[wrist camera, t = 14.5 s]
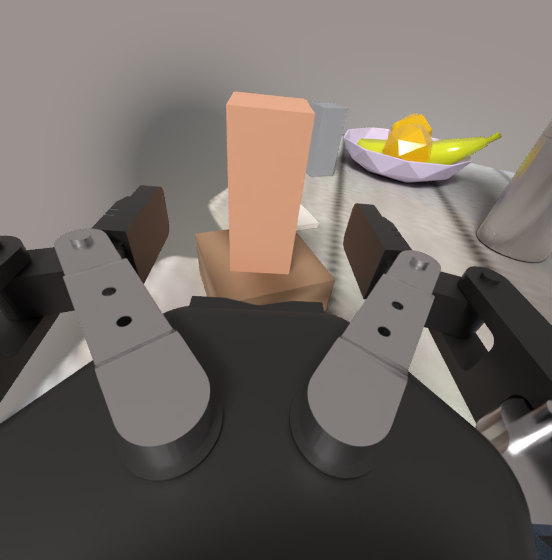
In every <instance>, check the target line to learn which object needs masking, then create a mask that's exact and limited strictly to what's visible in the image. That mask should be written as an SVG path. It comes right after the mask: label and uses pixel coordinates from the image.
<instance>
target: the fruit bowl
mask: <svg viewBox="0 0 552 560" xmlns="http://www.w3.org/2000/svg"><path fill="white" fill-rule="evenodd" d="M431 133H432V129H431V127H430V126H429V124H428V122H427V121H426V119H425V117H424V115H421V114H416V113H412V114H410V115H409V116H407V117H405V118H403V119H402V120H400V121H398V122H396V123H394V125H393V126H392V128H391V129H390V130H389V129H381V128H371V127H370V128H359V129H348V131H347V132H346V134H345V136H344V140H345V144H346V147H347V150H348V152H349V154H350V156H351V157H352V159H353V160H355V161H356V162H357V163H359V164H360V165H361V166H362V167H364V168H365V169H366V170H367V171H369V172H372V173H375V174H379V175H382V176H385V177H388V178H391V179H395V180H398V181H401V182H404V183H411V182H423V181H435V180H447V179H448V178H450V177H451V176H452V175H454V174H455V173H457V172H458V171H460V170H461V169H462V168H464V167H465V166H467V165H468V164H469V163H471V162H472V161H473V160H472V159H471V157H470V155H472V154H474V153H475V152H477V151H479V150H481V149H483V148H484V147H486V146H487V144H488V143H490V142H493V141H494V140H497V139H499V138H501V134H500V132H498V133H496V134H494V135H492V136H490V137H487V138H485V137H476V138H475V137H474V138H460V139H448V140H439V139H436V138H432V137H431Z"/></svg>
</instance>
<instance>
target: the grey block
mask: <svg viewBox="0 0 552 560" xmlns="http://www.w3.org/2000/svg"><path fill="white" fill-rule="evenodd" d="M310 107H311V108H312V110H313V111H314V113H315V118H314V124H313V130H312V136H311V142H310V149H309V155H308V161H307V167H306V173H307V174H308V175H310V176H311V177H321V176H333V172H334V167H335V163H336V159H337V154H338V150H339V146H340V141H341V137H342V133H343V128H344V124H345V119H346V115H347V110H348V108H345V107H343V106H340V105H338V104H335V103H323V102H311V103H310Z"/></svg>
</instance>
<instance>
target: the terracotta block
mask: <svg viewBox="0 0 552 560" xmlns="http://www.w3.org/2000/svg"><path fill="white" fill-rule="evenodd" d="M226 110H227V111H226V112H227V151H228V152H227V153H228V198H229V240H230V271H235V272H254V273H273V274H289V271H290V265H291V259H292V253H293V247H294V241H295V235H296V228H297V222H298V216H299V210H300V204H301V198H302V192H303V185H304V179H305V173H306V167H307V161H308V155H309V149H310V142H311V136H312V130H313V124H314V118H315V113H314V111H313V110H312V108H311V107H310V105H309V104H308V102H307V101H306V99H299V98H290V97H281V96H271V95H262V94H253V93H243V92H234V93H233V94H232V96H231V98H230V99H229V101H228V103H227V105H226Z"/></svg>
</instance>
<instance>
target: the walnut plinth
mask: <svg viewBox="0 0 552 560" xmlns="http://www.w3.org/2000/svg"><path fill="white" fill-rule="evenodd" d="M195 236H196V244H197V252H198V261H199V269H200V275H201V278H202V281H203V284H204V288H205V291H206V294H207V297H223V298H229V299H233V300H237V301H241V302H245V303H250V304H254V305H266V304H273V303H280V302H287V301H306V302H322V303H323V308H324V312H325V310H326V307H327V304H328V301H329V298H330V294H331V291H332V288H333V285H334V282H335V279H334V278H333V276H332V275H331V274H330V273H329V272H328V270H327V269H326V268H325V267H324V266H323V264H322V263H321V262H320V261H319V259H318V258H317V257H316V256H315V255H314V253H313V252H312V251H311V250H310V249H309V247H308V246H307V245H306V244H305V242H304V241H303V240H302V239H301V238H300V236H299V235H298V234H297V233H296V235H295V241H294V247H293V253H292V259H291V265H290V271H289V274H273V273H254V272H235V271H230V240H229V230H221V231H213V232H206V233H198V234H195Z"/></svg>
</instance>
